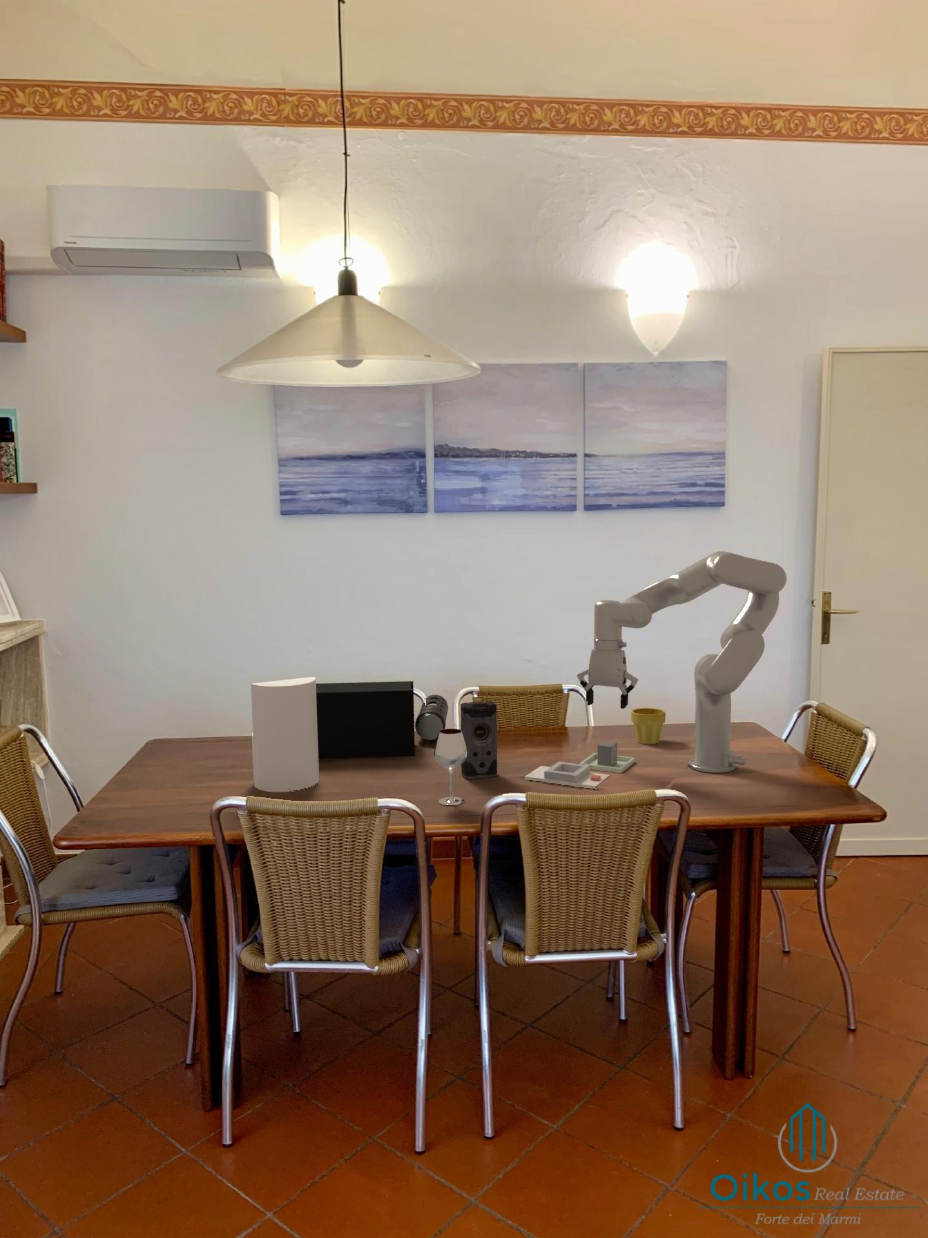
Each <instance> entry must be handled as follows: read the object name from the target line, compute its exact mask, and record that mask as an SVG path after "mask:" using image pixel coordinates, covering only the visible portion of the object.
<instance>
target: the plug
mask: <svg viewBox="0 0 928 1238" xmlns="http://www.w3.org/2000/svg"><path fill="white" fill-rule="evenodd" d="M597 753H598V765H600V766H608V767H613V766H614V765H616V764H617V756H618V742H615V741H606V740H603V741H602V742H600V743H598V744H597Z"/></svg>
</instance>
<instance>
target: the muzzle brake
mask: <svg viewBox="0 0 928 1238" xmlns="http://www.w3.org/2000/svg"><path fill="white" fill-rule="evenodd" d="M425 699H426V705H425V703H423V702H422V704H421V707H420V710H419V712H418V714H417V716H416V719H415V721H414V730H415V732H416V733H417V735H418V736H419V737H420V738H421V739H423V740H426V741H434V740H435V741H436V740H437V737H438V733H439V731H440V730H442V729H446V725H447V722H446V721H447V717H448V716H447V715H448V711H449V704H448V702H447V700H446V699H445V698H444V697H443V696H441V695H439V694H432V695H428V696H427V697H426V698H425Z"/></svg>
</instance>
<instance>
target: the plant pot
mask: <svg viewBox="0 0 928 1238" xmlns="http://www.w3.org/2000/svg"><path fill="white" fill-rule="evenodd" d="M630 711H631V713H630V715H631V718H630V720H631V722H632V723H633V726H634V732H635V737H636V742H638V743H639V744H643V745H656V743H657V744H659V743H660V739H661V734H662V730H663V726H664V724H665V723H666V711H665V710H664V709H661V708H654V707H638V708H634V709H632V710H630Z"/></svg>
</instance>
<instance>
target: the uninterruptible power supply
mask: <svg viewBox="0 0 928 1238" xmlns="http://www.w3.org/2000/svg"><path fill="white" fill-rule="evenodd" d="M414 698H415V692H414V680H406V681H404V680H403V681H399V680H398V681H367V682H363V681H362V682H358V681H357V682H325V683H324V682H322V683H319V682H318V683H317V682H316V705H317V734H318V760H334V759H335V760H339V759H340V760H341V759H342V760H343V759H369V758H370V759H371V758H372V759H373V758H375V759H376V758H402V757H406V758H407V757H416V745H415V744H416V743H415V742H416V741H415V738H416V737H415V734H416V733H415V732H416V730H415V699H414Z"/></svg>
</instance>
